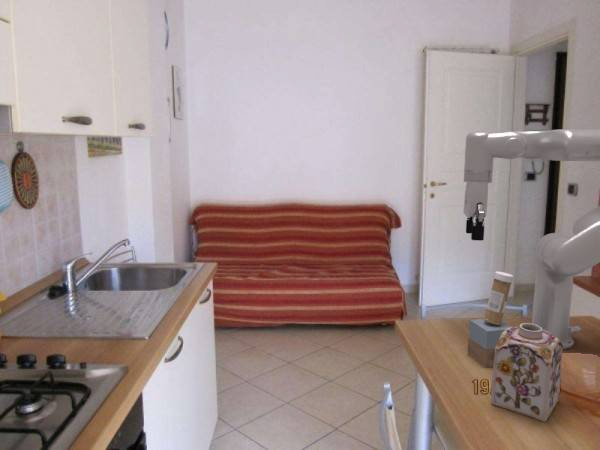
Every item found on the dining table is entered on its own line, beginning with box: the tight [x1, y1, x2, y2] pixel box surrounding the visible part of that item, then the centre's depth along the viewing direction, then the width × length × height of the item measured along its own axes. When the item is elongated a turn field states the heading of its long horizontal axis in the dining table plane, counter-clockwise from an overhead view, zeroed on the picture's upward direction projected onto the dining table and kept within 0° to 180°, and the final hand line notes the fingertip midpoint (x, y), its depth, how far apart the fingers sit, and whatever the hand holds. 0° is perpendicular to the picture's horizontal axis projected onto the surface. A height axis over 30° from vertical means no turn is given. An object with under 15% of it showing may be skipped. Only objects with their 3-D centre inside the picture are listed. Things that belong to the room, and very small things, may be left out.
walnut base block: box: [466, 337, 495, 369], centre depth 132 cm, size 8×8×5 cm
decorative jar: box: [490, 322, 564, 423], centre depth 109 cm, size 12×12×18 cm
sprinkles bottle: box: [483, 271, 514, 325], centre depth 130 cm, size 5×5×14 cm
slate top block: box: [468, 318, 513, 350], centre depth 131 cm, size 8×8×5 cm
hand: (474, 236), depth 142 cm, fingers open, 9 cm apart
